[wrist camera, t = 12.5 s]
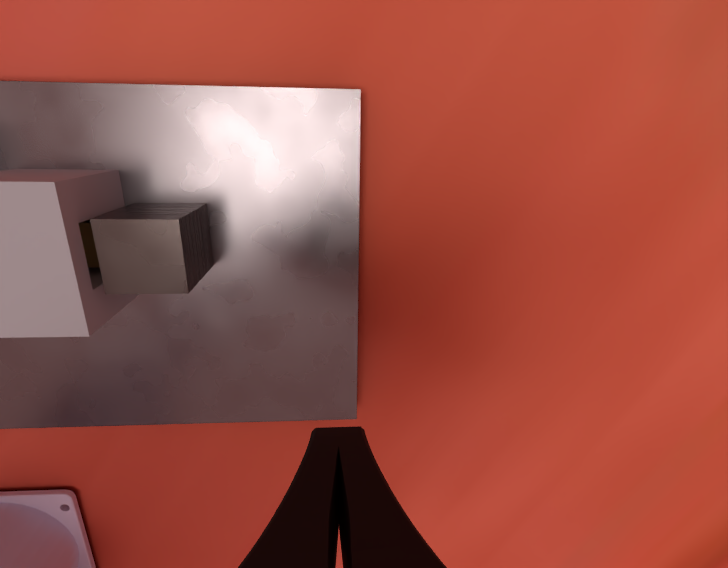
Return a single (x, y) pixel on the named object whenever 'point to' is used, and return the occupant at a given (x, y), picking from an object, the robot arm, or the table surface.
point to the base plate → (229, 250)
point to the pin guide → (53, 252)
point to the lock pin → (149, 247)
